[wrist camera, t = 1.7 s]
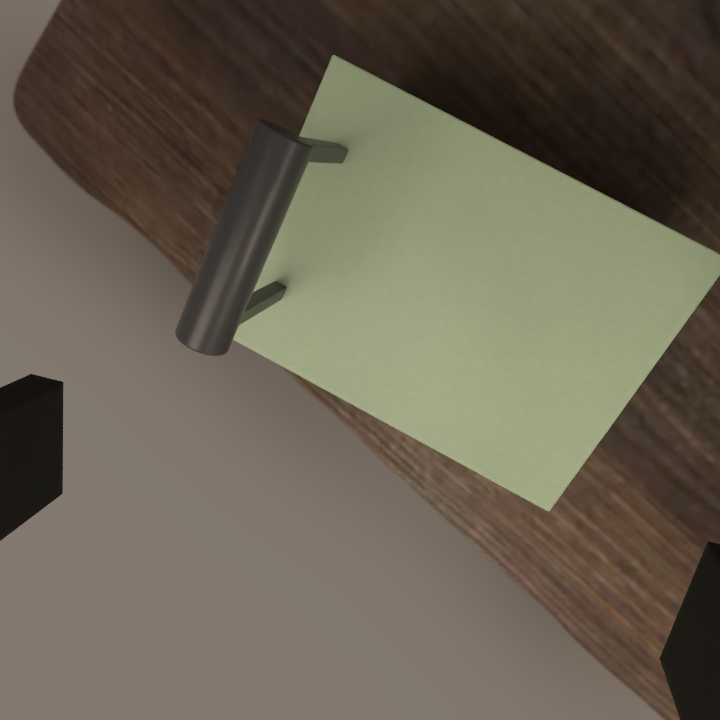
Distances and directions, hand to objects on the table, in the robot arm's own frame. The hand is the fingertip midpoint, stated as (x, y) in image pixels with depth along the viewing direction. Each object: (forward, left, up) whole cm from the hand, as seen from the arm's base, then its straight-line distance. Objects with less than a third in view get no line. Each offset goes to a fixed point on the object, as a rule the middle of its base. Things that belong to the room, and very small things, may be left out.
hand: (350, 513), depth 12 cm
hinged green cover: (-1, +1, -18) cm, 18 cm away
